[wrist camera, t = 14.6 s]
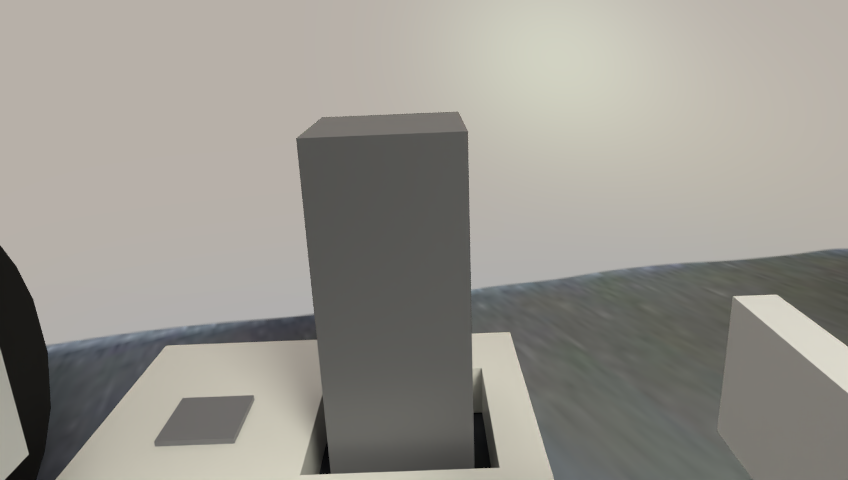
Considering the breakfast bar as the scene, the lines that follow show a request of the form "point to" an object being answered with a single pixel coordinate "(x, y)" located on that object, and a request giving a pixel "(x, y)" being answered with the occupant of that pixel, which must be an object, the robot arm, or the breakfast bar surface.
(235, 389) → the white base plate
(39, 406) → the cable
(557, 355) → the breakfast bar surface
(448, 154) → the block
